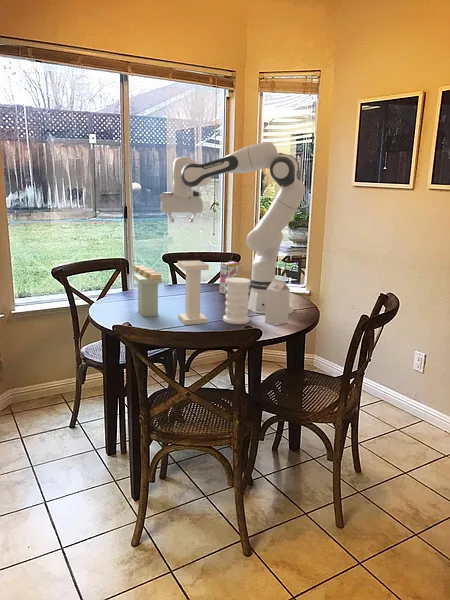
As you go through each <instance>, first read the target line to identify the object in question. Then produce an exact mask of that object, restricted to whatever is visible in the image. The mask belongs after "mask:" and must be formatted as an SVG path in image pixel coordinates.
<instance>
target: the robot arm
mask: <svg viewBox="0 0 450 600" xmlns="http://www.w3.org/2000/svg"><path fill="white" fill-rule="evenodd" d="M299 168H300V166H299V162H298V160H297V159H296V158H295V157H294V156H292V155H290V154H286V153H282V152H278V149H277V148H276V146H275V144H274V143H272V142H269V141H266V142H259V143H254V144H251V145H248V146H244V147H242V148H240V149H238V150H235V151H234V152H232V153H230V154H227V155H226V156H224V157H221V158H218V159H214V160H211V161H208V162H204V163H200V162H197V161H195V160H193V158H191V156H179V157H177V158H175V159H174V161H173V166H172V178H173V183H172V192H165V191H164V192H162V193H161V194H160V195H159V196H160V197H159V198H160V199H159V200H160V212H161V213H164V214H165V213H166V214H167V216H168V217H169V223H175V218H173V217H172V216H173V213H176V214H177V213H178V214H179V213H180V214H181V213H183V214H184V213H185V214H186V213H188V214H190V213H191V217H190V218H189V223H194V218H195V217H196V214H200V213H201V214H202V213H203V211H204V203H203V199H202V193H201V192H200V191H198V190H195V189H192V188H193V187H204V186H206V185H209V183H210V182H211V180H212V177H214V176H215V177H216V176H218V175H222V174H246V173H248V174H249V173H253V172H256V171H257V172H258V171H259V170H263V169H269V173H270V176H271V178H272V179H273V180H274V181H275V183H277V184H278V185H279V188H280V189H279V190H278V191H277V194H276V195H275V196H274V199H273V200H272V202H271V204H270V206H269V207H268V209H267V210H266V212H265V214H263V216H262V217H261V219H260V220H259V221H258V222H257V224H256V225H255V226H254V228H253V229H251V231H250V232H249V233H248V234H247V236H246V241H245V242H246V246H247V247H248V248H249V249H250V250H251V251H252V252H256V253H255V255H254V258H253V260H252V263H251V276H250V277H251V278H250V280H251V281H250V284H249V293H250V294H249V299H248V303H249V305H248V311H251V312H253V313H255V314H262V315H263V314H264V315H265V312H266V294H267V288H268V286H269V285H270V283H271V282H272V279H276V269H277V268H276V267H277V266H276V265H277V260H278V256H279V252H280V247H281V244H282V243H283V239H284V235H283V232H282V231H283V229H285V228H286V226H288V224H289V223H290V221H291V220H292V218H293V217H294V215H295V213H296V211H297V210H298V208H299V206H300V205H301V202H302V200H303V198H304V196H305V192H306V186H305V184H304V183H303V182H302V181H301V180H300V179H299V178H298V177H297V174H298V173H299ZM290 303H291V302H289V312H288V316H289V315H291V314H293V313H294V311H295V308H294V306H291V305H290Z"/></svg>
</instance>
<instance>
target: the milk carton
mask: <svg viewBox="0 0 450 600" xmlns="http://www.w3.org/2000/svg"><path fill="white" fill-rule="evenodd" d="M290 293H291V289H290V287H289V286H288V285H287V284H286V281H285V280H282V279H276V278H275V279H272V282H271V283H270V285H269V286H268V288H267V294H266V312H265V314H264V315H265V316H264V322H265V323H268V324H271V325H274V326H282V325H284V324H287V323H289V315H288V312H289V303H290Z"/></svg>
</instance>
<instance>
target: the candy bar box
mask: <svg viewBox="0 0 450 600" xmlns="http://www.w3.org/2000/svg"><path fill="white" fill-rule="evenodd" d="M239 270H240V262H239V261H238V262H237V261H228V262H221V263H220V271H219V273H220V274H219V290H218V291H219V293H218V294H222V295H225V296H226V294H227V291H226V287H227V284H226V283H225V279H227V278H239V272H240V271H239Z"/></svg>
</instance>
